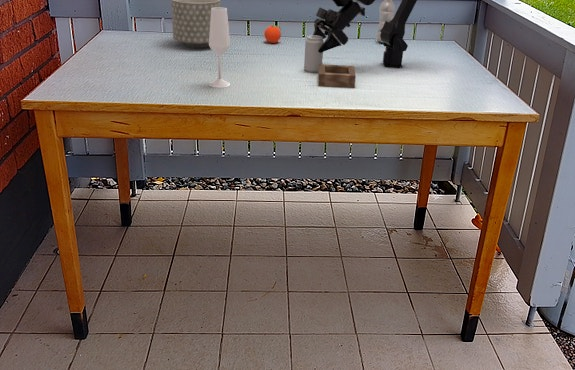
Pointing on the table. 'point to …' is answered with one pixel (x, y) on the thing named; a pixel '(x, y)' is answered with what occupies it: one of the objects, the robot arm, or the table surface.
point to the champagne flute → (219, 40)
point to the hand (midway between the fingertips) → (313, 48)
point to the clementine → (272, 34)
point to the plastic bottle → (385, 15)
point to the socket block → (336, 76)
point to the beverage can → (313, 53)
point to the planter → (192, 21)
